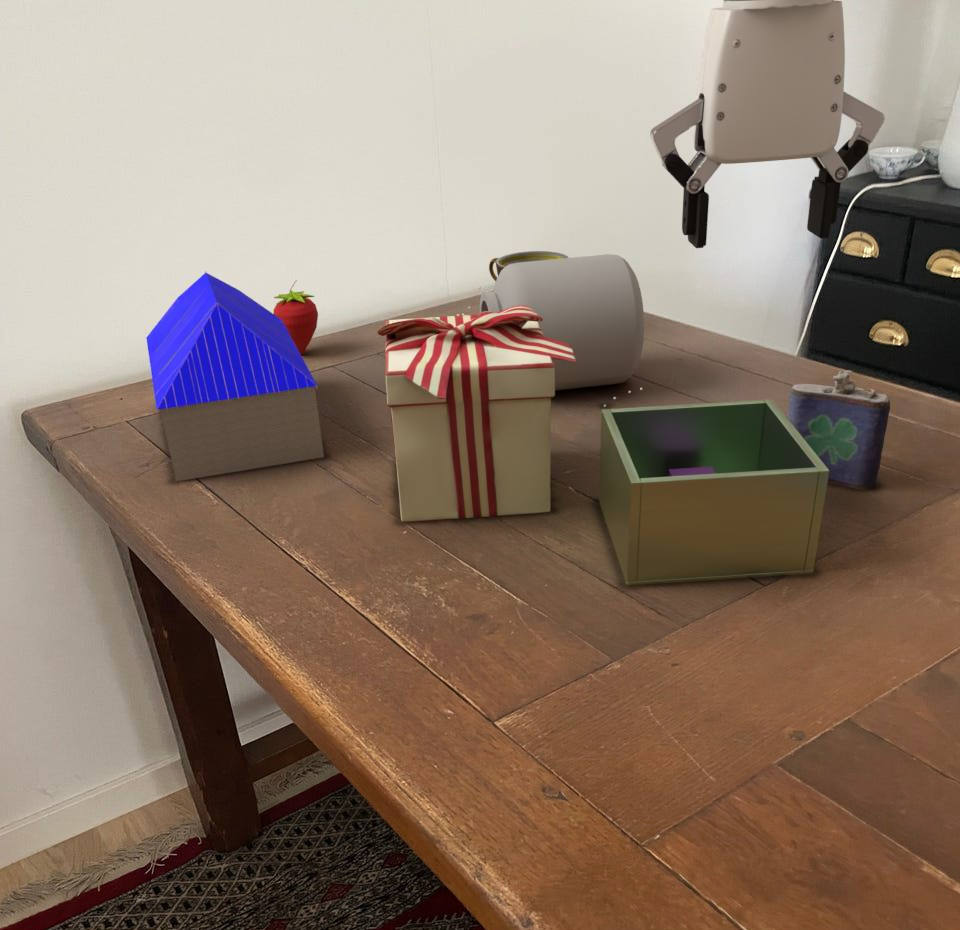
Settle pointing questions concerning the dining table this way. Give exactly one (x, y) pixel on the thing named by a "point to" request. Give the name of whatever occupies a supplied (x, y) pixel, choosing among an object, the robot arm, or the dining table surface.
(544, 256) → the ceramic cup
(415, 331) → the gift box
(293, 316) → the strawberry
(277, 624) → the dining table surface
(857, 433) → the flask
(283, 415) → the house
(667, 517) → the open box
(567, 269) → the jar
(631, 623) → the dining table surface
